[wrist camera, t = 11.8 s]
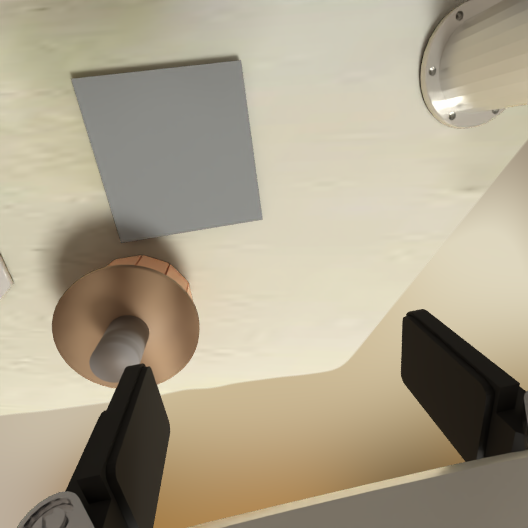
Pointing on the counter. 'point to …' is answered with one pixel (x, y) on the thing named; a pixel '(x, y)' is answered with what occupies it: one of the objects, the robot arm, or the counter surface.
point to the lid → (125, 324)
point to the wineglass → (4, 279)
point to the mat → (172, 148)
